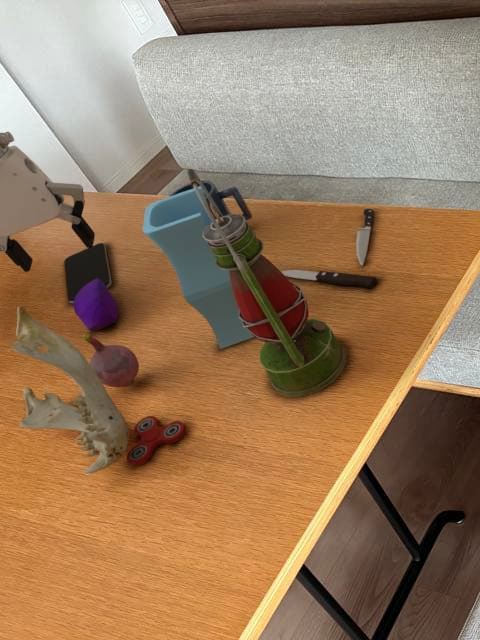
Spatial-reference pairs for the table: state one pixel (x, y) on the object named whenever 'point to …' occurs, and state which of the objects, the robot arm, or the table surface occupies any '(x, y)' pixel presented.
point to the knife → (364, 236)
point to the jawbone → (94, 406)
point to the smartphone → (86, 269)
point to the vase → (196, 262)
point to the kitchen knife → (333, 278)
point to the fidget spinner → (153, 438)
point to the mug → (220, 198)
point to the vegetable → (113, 363)
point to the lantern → (272, 307)
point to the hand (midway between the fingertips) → (60, 254)
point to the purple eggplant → (95, 305)
